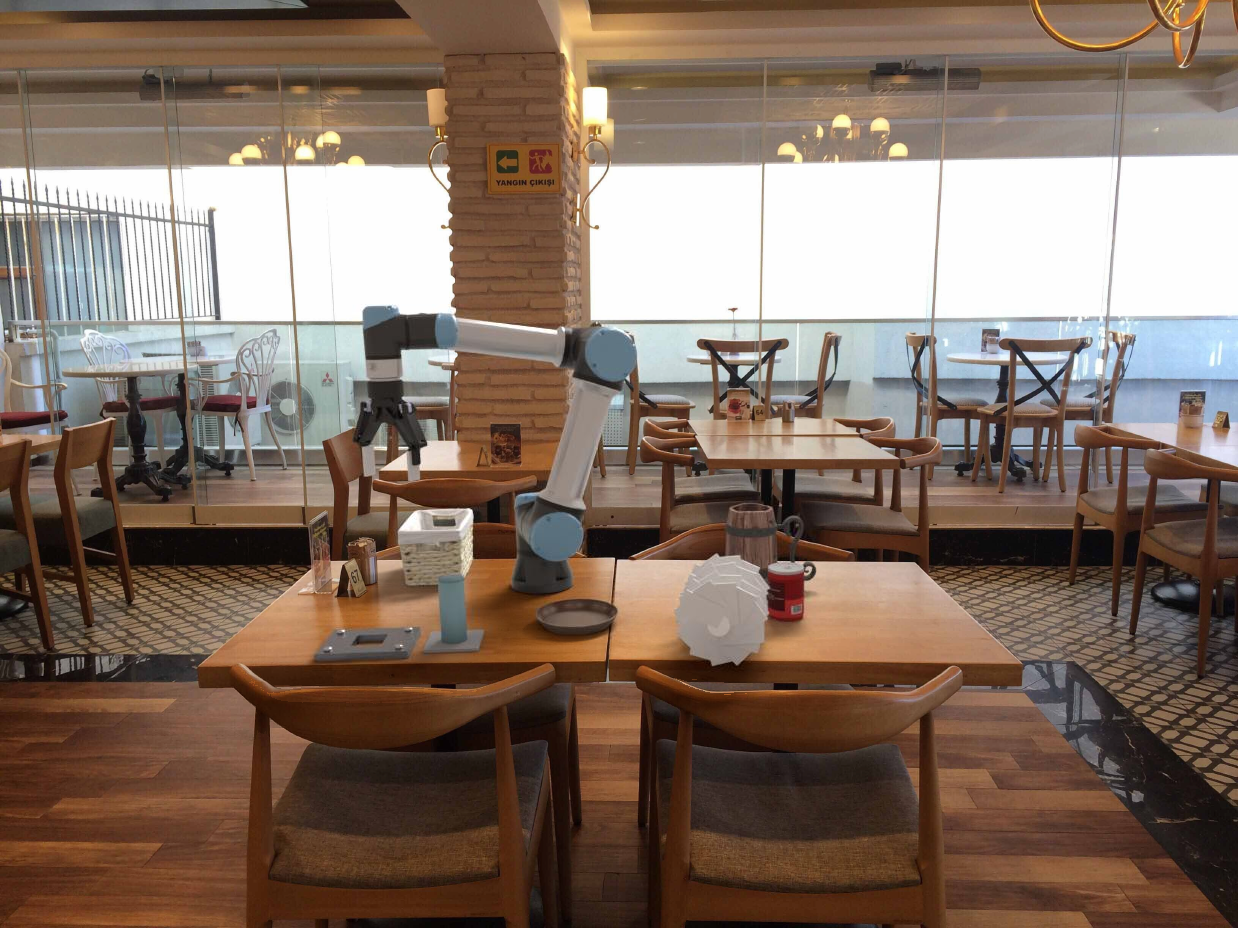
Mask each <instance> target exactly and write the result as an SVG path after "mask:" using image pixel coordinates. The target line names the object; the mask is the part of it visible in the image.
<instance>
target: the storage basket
mask: <svg viewBox="0 0 1238 928" xmlns="http://www.w3.org/2000/svg"><path fill="white" fill-rule="evenodd" d="M435 520H437V521H438V520H439V521H440V520H448V521H449V520H455V521H454V522H455V525H454V526H452V525H451V526H436V525H434V521H435ZM473 525H474V513H473V510H472V509H471V508H468V507H467V508H445V509H444V508H443V509H441V508H440V509H437V508H436V509H425V510H423V509H418V510H414V511H413V513H412V514H411V515H409V517H408V518H407V519H406V520H405V521H404V523H403V524H401V526H400V528H398V530H397V543H398V547H399V551H400V557H401V562H402V568H403V569H402V571H403V574H404V579H405V580H404V581H405V584H406V586H409V587H417V586H419V585H421V586H422V585H424V586H438V578H439V577H441V576H445V575H462V576H463V577H464V579H465V578H466V576H467V574H468V573H469V570H470V568H471V565H472V563H473V561H474V559H475V557H473V556H474V555H473V554H474V549H473V547H474V544H473V540H474V536H473V530H474V527H473Z"/></svg>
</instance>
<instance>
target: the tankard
mask: <svg viewBox="0 0 1238 928" xmlns="http://www.w3.org/2000/svg"><path fill="white" fill-rule="evenodd" d="M794 521H796V522H797V523H798V524H799V525H798V529H797V532H796V533H795V536H794V538H793V539H792V541H791V544H790V548H789V559H790V561H789V562H792V563H796V559H795V551H796V547H797V544H798V543H799V541H800V539H801V538H802V536H803V533H804V526H805V525H804V522H803V520H802V519H801V517H799V516H797V515H791V516H788V517H787V518H785V519H784V520H783V522H782V523H781V524H777V522H776V519H775V512H774V508H773V506H770V505H764V504H761V503H757V502H747V503H746V502H744V503H739V504H736V505H732V506H730V507H729V509H728V514H727V521H726V522H725V530H724V531H725V534H726V535H725V555H724V557H727V556H738V555H740V558H741V560H744V561H746V562H748V563H750V564H753V565H755V566H757V567H759V568H760V569H759V572H758V573H759V574H760V575H761V577H762V578H763V579H764V581H765V582H766V583H767V585H768V566H769V565H771V564H774V563H779V562H778V543H777V542H778V541H777V532H778V530H782V531H783V533H784V534H785V535H786V536H787V537H788V538H791V537H792V533H791V532H790V531H791V525H790V523H791V522H794ZM802 566H804V582H809V581H811V580H812V579H814V578H815V576H816V574H817V567H816V565H815V564H814V562H812V561H805V562H803V564H802ZM808 567H811V570H809V569H807V570H806V568H808ZM805 574H806V575H805ZM767 592H768V590H767ZM766 599H767V601H768V594H767V595H766Z"/></svg>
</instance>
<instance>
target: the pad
mask: <svg viewBox="0 0 1238 928" xmlns="http://www.w3.org/2000/svg"><path fill="white" fill-rule="evenodd" d="M484 635H485V629H467V640H466V641H464V642H462V643H457V644H446V643H443V642H442V640H441V630H436V631H434V630H432V631H431V632H430V635H429V636H428V639H427V641H426V643H425V644H424V646H423V649H422V654H434V653H435V654H437V653H438V654H439V653H461V652H462V653H466V652H468V653H469V652H479V651H480V647H481V645H482V642H483V641H482V640H483V638H484Z"/></svg>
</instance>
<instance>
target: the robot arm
mask: <svg viewBox="0 0 1238 928" xmlns="http://www.w3.org/2000/svg"><path fill="white" fill-rule="evenodd" d="M399 310H400V309H399V307H398V306H397V305H394V304H391V305H368V306H365V307H364V308H363V309H362V335H363V336H362V337H363V347H364V358H365V372H366V373H365V374H366V378H367V379H368V381H367V383H366V389H367V397H368V399H370V400H364V401H360V404H359V405H360V406H359V407H360V408H359V409H360V410H359V415H358V418H357V423H356V426H355V429H354V434H353V435H352V436H353V437H352V442H353V443H354V444H357V445H358V446H359V447H360V458H361V460H362V466H363V467H362V469H363V477H370V476H371V477H372V476H375V475H377V473H376V472H377V471H376V459H375V457H376V456H375V445H374V443H373V440H374V438H375V436H376V434H377V433H378V431H379V430H380V427H381V425H382V424H388V425H389V424H390V425H391V426H393V427H394V428H395V429H396V431H397V432H398V434H399V435H400V437H401V439H402V440H403V441H404V443H405V445H406V446H407V447H408V448H407V450H406V452H405V453H406V464H407V478H408V479H407V480H408V481H407V482H411V483H412V482H415V481H420V480H421V473H420V472H421V471H420V466H421V464H422V463H421V462H422V459H421V449H423V448H426V447H428V440H427V439H426V436H425V434H424V431H423V429H422V426H421V424H420V422H419V420H418V417H417V414H416V411H415V404H414V402H412V401H411V402H405V403H403V402H402V399H403V397H404V395H405V389H404V388H405V386H404V381H403V379H401V378H403V376H404V371H403V370H404V369H403V360H402V358H403V357H402V355H403V354H402V351H410V350H412V351H413V350H447V351H448V350H449V351H455V352H463V353H473V354H480V355H488V356H489V355H490V356H498V357H504V358H505V357H507V358H515V359H522V360H523V359H524V360H531V361H540V362H549V363H552V364H553V365H554V366H555V367H556V368H560V369H561V368H564V369H569V370H571V371H573V372H572V376H571V380H572V382H573V384H574V386H575V389H574V391H573V392H574V393H573V395H572V399H571V403H570V406H569V410H568V413H567V416H566V419H565V423H564V425H563V426H564V427H563V431H562V433H561V436H560V441H559V443H558V447H557V449H556V453H555V456H554V460H553V463H552V467H551V471H550V473H549V476H548V479H547V484H546V487H545V488H544V489H542V490H541V491H538V492H529V493H528V492H527V493H521V494H518V495H517V496H515V499H514V507H513V510H514V513H515V514H514V515H515V536H516V537H515V538H516V559H515V563H514V566H513V569H512V574H511V576H510V583H511V584H510V585H511V589H513V590H514V591H516V592H519V593H522V594H523V593H524V594H530V595H531V594H532V595H533V594H534V595H535V594H536V595H537V594H539V595H540V594H541V595H542V594H553V593H558V592H563V591H565V590H568V589H570V588H571V587H572V586H573V585H574V573H573V571H572V568H571V566H570V563H569V560H568V559H570V558H571V557H573V556H574V555H575V554H576V553H577V552H578V551H579V550H580V548H581V546H582V544H583V539H584V529H583V525H582V524H583V520H584V516H585V513H586V510H587V506H586V504H585V502H584V500H583V496H584V495H585V494H584V493H585V490H586V487H587V485H588V481H589V478H590V473H591V470H592V466H593V464H594V460H595V456H596V453H597V450H598V446H599V445H600V440H601V437H602V434H603V431H604V427H605V424H606V420H607V418H608V414H609V410H610V407H611V403H612V400H613V398H615V397H617V396H618V395H620V394H621V393H622V390H623V386H624V384H625V381H626V379H627V377H629V376H630V375H631V374H632V372H633V370H634V369H635V367H636V364H637V361H638V350H637V346H636V344H635V342H634V339H632V338H631V336H630V335H629V334H628V333H627V332H625V331H624V330H622V329H619V328H617V327H615V326H609V325H606V326H597V325H596V326H595V325H594V326H584V327H581V326H580V327H572V326H571V327H570V326H569V327H568V326H561V325H560V326H559V327H558V328H557V329H550V328H543V327H535V326H534V327H533V326H527V325H526V326H525V325H518V324H510V323H501V322H494V321H486V320H479V319H478V320H477V319H469V318H463V317H456V315H455V314H453V313H451V312H450V313H447V312H446V313H445V312H438V313H437V312H436V313H433V312H432V313H425V312H419V313H414V314H404V313H401V311H399Z"/></svg>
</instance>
